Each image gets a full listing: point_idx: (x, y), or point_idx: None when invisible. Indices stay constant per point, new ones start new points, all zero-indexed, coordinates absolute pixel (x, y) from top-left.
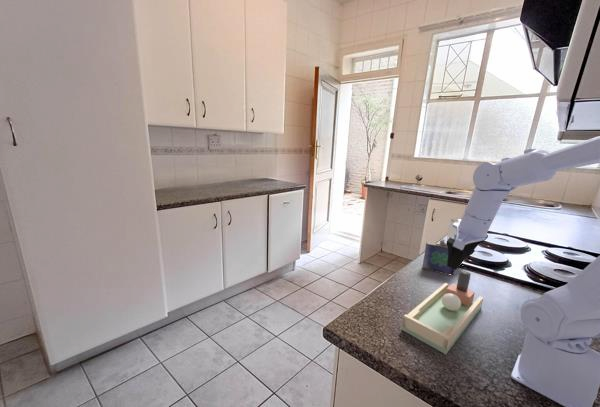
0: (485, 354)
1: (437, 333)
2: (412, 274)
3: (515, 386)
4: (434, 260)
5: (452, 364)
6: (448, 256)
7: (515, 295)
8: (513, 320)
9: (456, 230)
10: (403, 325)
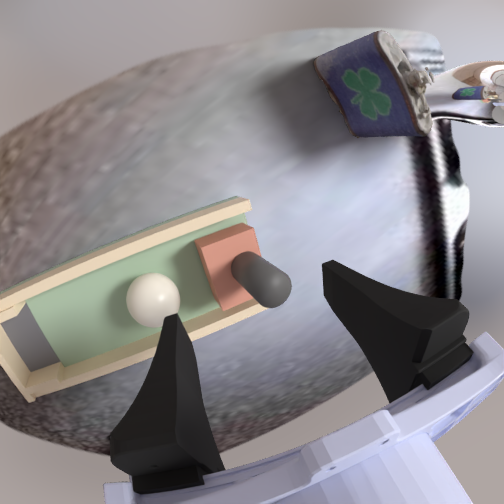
0: (112, 400)
1: (15, 384)
2: (242, 67)
3: (104, 441)
4: (352, 80)
5: None
6: (153, 360)
7: (385, 271)
8: (280, 343)
9: (259, 481)
10: None
